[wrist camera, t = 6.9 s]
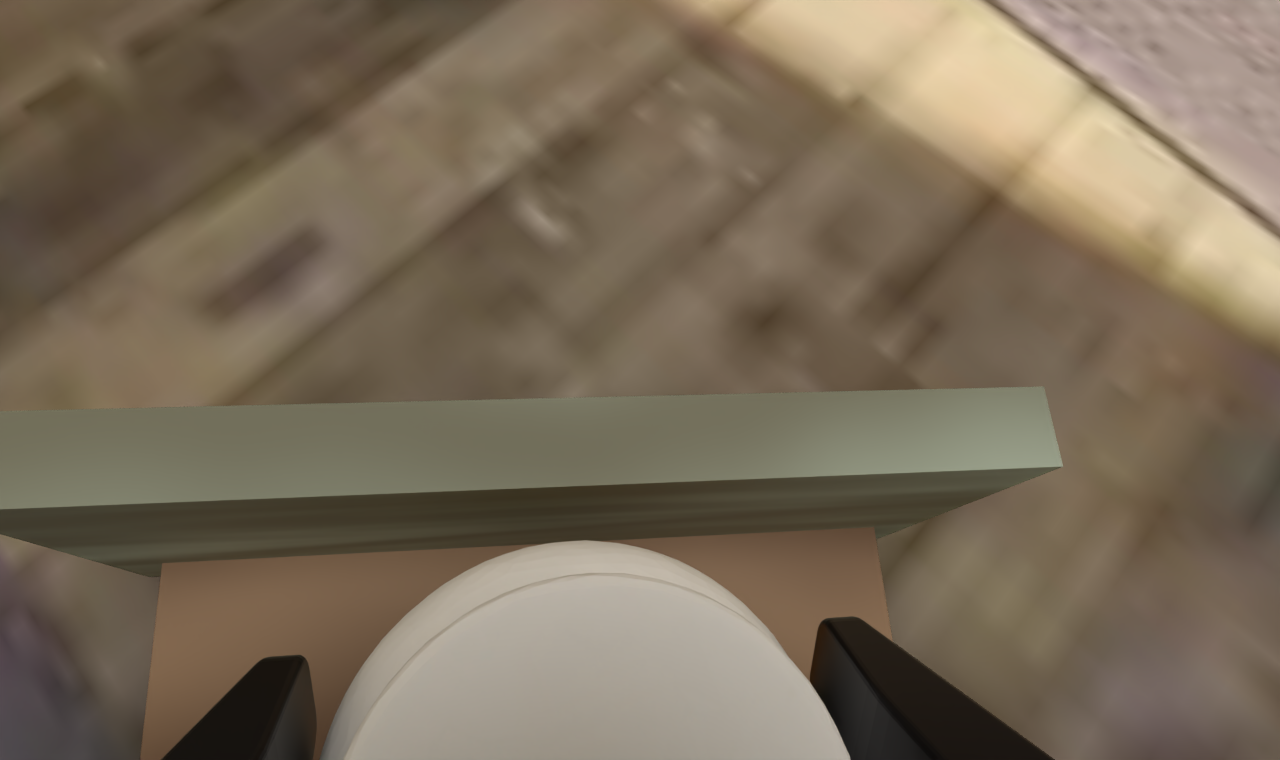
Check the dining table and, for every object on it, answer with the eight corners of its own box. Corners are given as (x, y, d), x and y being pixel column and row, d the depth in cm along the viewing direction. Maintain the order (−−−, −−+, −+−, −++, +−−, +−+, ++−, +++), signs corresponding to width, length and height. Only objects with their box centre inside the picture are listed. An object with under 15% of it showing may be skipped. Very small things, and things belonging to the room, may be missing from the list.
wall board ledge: (951, 979, 19) (1233, 1171, 12) (87, 1103, 16) (-273, 1462, 9) (870, 482, 23) (1043, 386, 15) (156, 512, 20) (-55, 412, 13)
